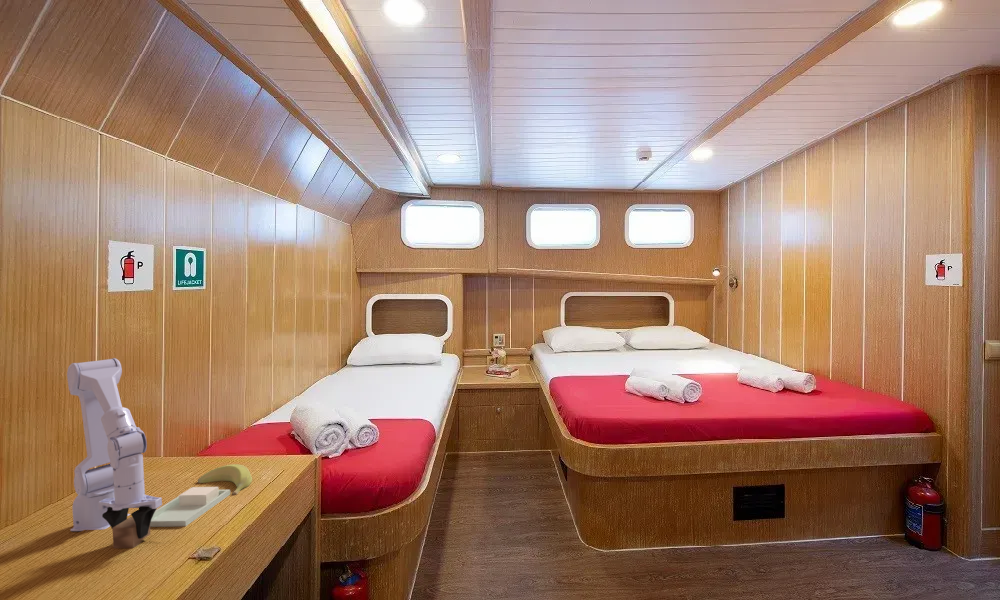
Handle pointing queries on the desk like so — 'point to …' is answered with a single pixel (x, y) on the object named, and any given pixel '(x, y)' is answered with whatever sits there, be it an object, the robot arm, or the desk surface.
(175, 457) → the desk surface
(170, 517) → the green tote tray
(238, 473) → the banana
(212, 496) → the pale pink block
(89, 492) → the robot arm
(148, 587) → the desk surface
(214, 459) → the desk surface
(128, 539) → the walnut block
